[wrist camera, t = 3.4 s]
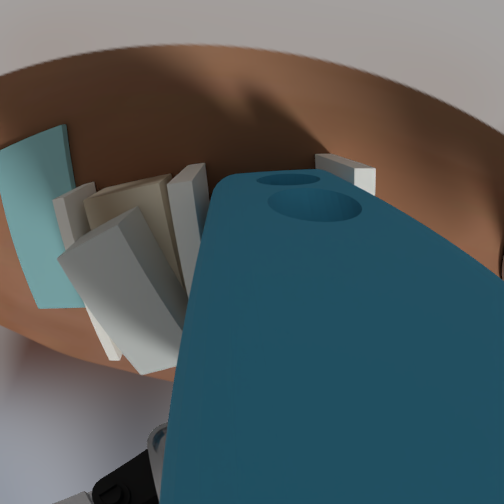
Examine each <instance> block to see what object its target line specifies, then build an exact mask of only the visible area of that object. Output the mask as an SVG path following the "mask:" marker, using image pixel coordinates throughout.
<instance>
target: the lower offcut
mask: <svg viewBox="0 0 504 504" xmlns="http://www.w3.org/2000/svg"><path fill="white" fill-rule="evenodd" d="M171 180H172V175H171V173H170V174H165V175H160V176H155V177H150V178H145V179H141V180H136V181H132V182H127V183H123V184H119V185H114V186H110V187H106V188H104V189H102V190H100V191H98V192H97V193H95V194H93V195H91V196H90V197H88V198H86V199H85V200H83V203H84V207H85V211H86V214H87V218H88V222H89V225H90V229H91V230H93V229H95V228H97V227H98V226H100V225H102V224H104V223H106V222H107V221H109V220H111V219H113V218H115V217H117V216H119V215H121V214H122V213H124V212H126V211H128V210H130V209H132V208H134V207H136V206H138V207H139V209H140V211H141V213H142V215H143V216H144V218H145V220H146V222H147V224H148V226H149V228H150V230H151V232H152V234H153V236H154V237H155V239H156V241H157V243H158V245H159V247H160V248H161V250H162V252H163V254H164V256H165V258H166V259H167V261H168V263H169V265H170V266H171V268H172V270H173V272H174V273H175V275H176V277H177V279H178V280H179V282H180V284H181V286H182V287H183V289H184V291H185V292H186V294H187V290H186V286H185V281H184V277H183V272H182V267H181V262H180V257H179V252H178V247H177V242H176V236H175V231H174V225H173V220H172V214H171V208H170V202H169V196H168V189H167V184H168V183H169V182H170V181H171ZM187 296H188V295H187Z"/></svg>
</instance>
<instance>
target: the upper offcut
mask: <svg viewBox="0 0 504 504" xmlns="http://www.w3.org/2000/svg"><path fill="white" fill-rule="evenodd" d="M57 261H58V262H59V264H60V266H61V267H62V269H63V271H64V272H65V274H66V275H67V277H68V279H69V280H70V282H71V283H72V285H73V286H74V288H75V289H76V291H77V293H78V294H79V295H80V297H81V298H82V300H83V301H84V303H85V304H86V306H87V307H88V309H89V310H90V311H91V313H92V314H93V316H94V317H95V318H96V320H97V321H98V322H99V324H100V325H101V326H102V328H103V329H104V330H105V332H106V333H107V334H108V336H109V337H110V338H111V340H112V341H113V342H114V343H115V345H116V346H117V347H118V348H119V350H120V351H121V352H122V353H123V354H124V356H125V357H126V358H127V359H128V360H129V362H130V363H131V364H132V365H133V366H134V367H135V369H136V370H137V371H138V372H139V373H140V374H141V375H143V374H148V373H152V372H156V371H160V370H164V369H167V368H171V367H175V366H177V360H178V354H179V348H180V342H181V337H182V331H183V326H184V320H185V315H186V310H187V305H188V300H189V299H188V296H187V294H186V292H185V291H184V289H183V287H182V286H181V284H180V282H179V280H178V279H177V277H176V275H175V273H174V272H173V270H172V268H171V266H170V265H169V263H168V261H167V259H166V258H165V256H164V254H163V252H162V250H161V248H160V247H159V245H158V243H157V241H156V239H155V237H154V236H153V234H152V232H151V230H150V228H149V226H148V224H147V222H146V220H145V218H144V216H143V215H142V213H141V211H140V209H139V207H138V206H136V207H134V208H132V209H130V210H128V211H126V212H124V213H122V214H121V215H119V216H117V217H115V218H113V219H111V220H109V221H107V222H106V223H104V224H102V225H100V226H98V227H97V228H95V229H93V230H91V231H90V232H88V233H86V234H84V235H83V236H81V237H80V238H79V239H78V240H77V241H75V242H74V243H73V244H72V245H71V246H70V247H69V248H68V249H67V250H65V251H64V252H63V253H62V254H61V255H60V256H59V257H58V258H57Z"/></svg>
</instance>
